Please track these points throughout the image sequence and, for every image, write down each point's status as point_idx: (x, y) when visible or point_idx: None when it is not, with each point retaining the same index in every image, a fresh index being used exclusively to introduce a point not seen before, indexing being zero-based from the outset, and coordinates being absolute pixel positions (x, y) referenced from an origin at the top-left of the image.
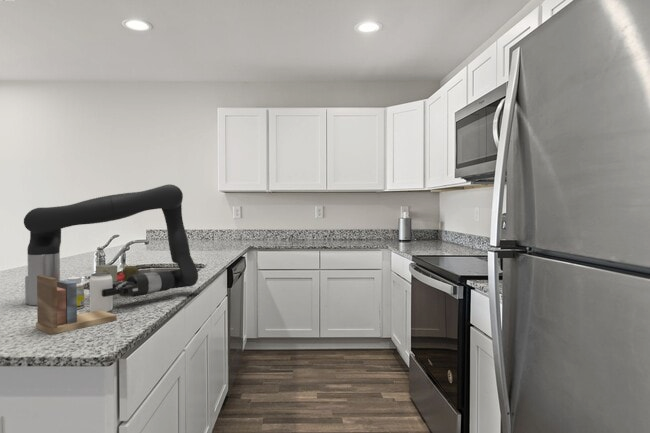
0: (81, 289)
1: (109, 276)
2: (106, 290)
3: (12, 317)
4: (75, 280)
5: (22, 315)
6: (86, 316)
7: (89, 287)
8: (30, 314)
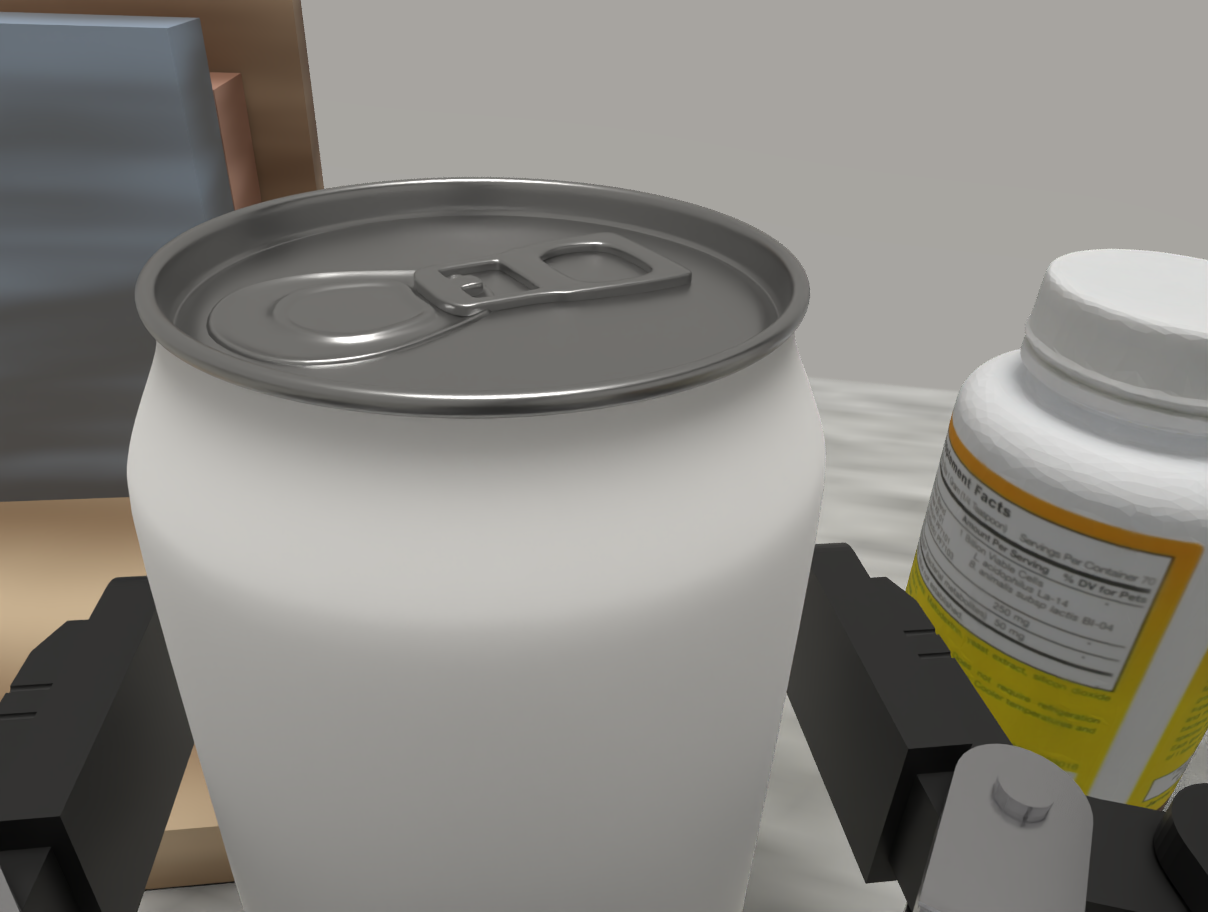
0: (1007, 545)
1: (166, 416)
2: (93, 643)
3: (858, 401)
4: (1043, 321)
5: (894, 435)
6: (74, 603)
7: (835, 548)
8: (901, 465)
